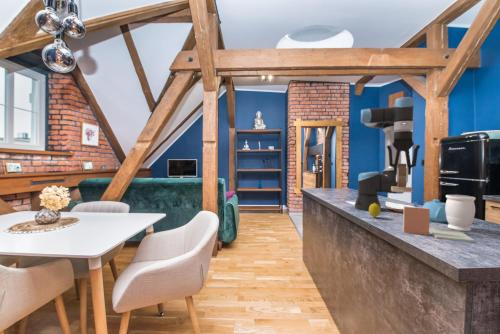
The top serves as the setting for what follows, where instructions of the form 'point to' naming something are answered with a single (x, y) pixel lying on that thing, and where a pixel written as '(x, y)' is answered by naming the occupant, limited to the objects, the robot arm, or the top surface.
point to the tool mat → (450, 234)
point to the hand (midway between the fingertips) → (401, 181)
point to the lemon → (374, 210)
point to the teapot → (435, 211)
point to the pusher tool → (402, 181)
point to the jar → (460, 212)
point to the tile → (416, 220)
